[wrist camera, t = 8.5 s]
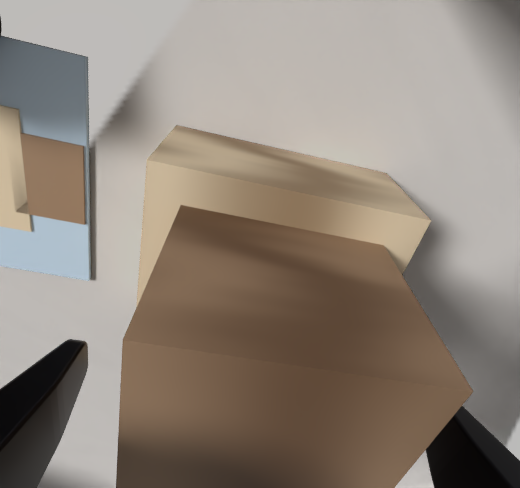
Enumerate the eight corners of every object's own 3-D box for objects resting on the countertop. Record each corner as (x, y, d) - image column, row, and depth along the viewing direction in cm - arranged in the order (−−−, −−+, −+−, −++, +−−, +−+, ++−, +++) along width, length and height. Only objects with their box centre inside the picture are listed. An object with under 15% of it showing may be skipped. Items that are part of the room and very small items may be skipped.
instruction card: (-55, 253, 15) (-61, 257, 15) (-120, 6, 11) (-129, 5, 10) (91, 278, 16) (88, 282, 16) (88, 57, 11) (84, 57, 11)
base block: (157, 297, 16) (132, 367, 13) (176, 125, 13) (147, 159, 9) (321, 325, 17) (337, 396, 14) (386, 173, 14) (431, 220, 10)
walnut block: (161, 354, 13) (114, 517, 8) (180, 204, 10) (122, 339, 5) (320, 377, 13) (352, 538, 9) (383, 245, 10) (473, 391, 6)
